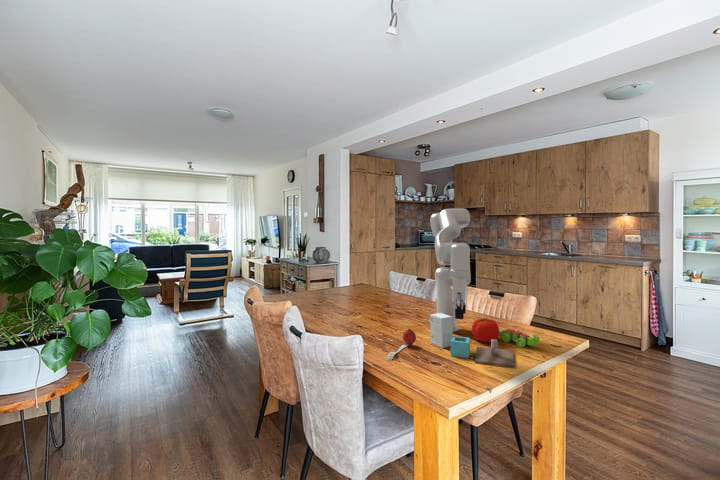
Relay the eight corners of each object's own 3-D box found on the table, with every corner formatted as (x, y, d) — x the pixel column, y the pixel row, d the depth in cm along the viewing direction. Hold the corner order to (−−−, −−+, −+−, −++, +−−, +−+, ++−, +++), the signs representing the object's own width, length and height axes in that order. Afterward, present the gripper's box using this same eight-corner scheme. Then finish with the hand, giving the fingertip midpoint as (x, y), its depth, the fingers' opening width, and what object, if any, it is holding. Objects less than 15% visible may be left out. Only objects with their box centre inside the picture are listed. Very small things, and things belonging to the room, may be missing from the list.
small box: (453, 345, 151) (453, 316, 151) (441, 348, 149) (441, 318, 148) (441, 340, 159) (441, 312, 158) (430, 342, 156) (429, 314, 155)
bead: (450, 355, 140) (450, 341, 140) (452, 349, 146) (452, 335, 146) (468, 357, 137) (468, 343, 137) (470, 351, 144) (469, 337, 144)
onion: (401, 343, 155) (401, 326, 155) (414, 343, 156) (414, 325, 155) (404, 348, 150) (403, 329, 149) (417, 347, 150) (417, 329, 149)
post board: (474, 362, 132) (474, 345, 132) (476, 348, 147) (476, 332, 147) (514, 367, 127) (514, 349, 127) (512, 352, 142) (512, 336, 142)
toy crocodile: (493, 338, 161) (493, 325, 161) (502, 335, 164) (502, 323, 164) (532, 351, 144) (532, 337, 143) (541, 348, 147) (542, 334, 147)
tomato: (496, 337, 162) (496, 315, 161) (501, 345, 150) (501, 322, 150) (470, 336, 164) (470, 314, 164) (472, 344, 153) (472, 321, 152)
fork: (408, 351, 153) (409, 345, 153) (390, 363, 135) (391, 355, 135) (402, 350, 154) (403, 344, 154) (384, 361, 136) (384, 354, 136)
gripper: (453, 271, 150) (453, 310, 150) (448, 276, 134) (448, 320, 134) (471, 272, 147) (471, 312, 148) (468, 277, 131) (468, 322, 131)
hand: (460, 316), depth 141 cm, fingers open, 9 cm apart
